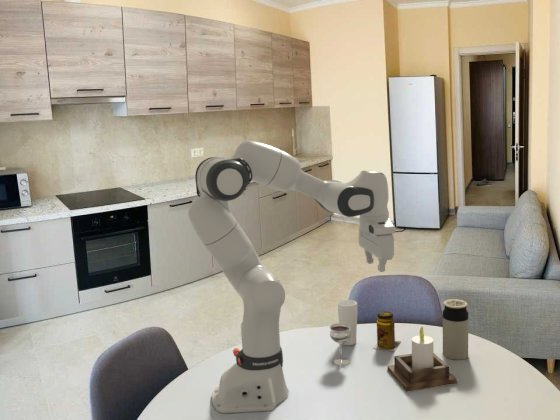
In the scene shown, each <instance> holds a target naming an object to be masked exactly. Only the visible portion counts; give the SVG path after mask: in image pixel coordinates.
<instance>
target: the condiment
mask: <svg viewBox="0 0 560 420" xmlns="http://www.w3.org/2000/svg"><path fill="white" fill-rule="evenodd" d="M395 332H396V330H395V321H394V314H393V313H392V312H391V311H384V310H383V311H380V312H378V313H377V320H376V339H377V343H376V344H375V346H374V347H373V349H375V350H381V351H388V352H389V351H391V352H395V351H396V350H397V348H398V346H399V345H400V343H401V341H400V340H396V337H395V336H396V334H395Z"/></svg>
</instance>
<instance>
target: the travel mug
mask: <svg viewBox="0 0 560 420" xmlns="http://www.w3.org/2000/svg"><path fill="white" fill-rule="evenodd" d="M443 307H444V309H443V310H442V355H443V356H444V357H446V358H447V359H450V360H456V361H457V360H458V361H459V360H460V361H461V360H463V359H464V360H465V359H466V358H467V357H469V312H468V310H467V307H468V303H467V302H466V300H463V299H455V298H452V299H446V300H444V301H443Z"/></svg>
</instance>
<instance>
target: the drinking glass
mask: <svg viewBox="0 0 560 420" xmlns="http://www.w3.org/2000/svg"><path fill="white" fill-rule="evenodd" d="M337 316H338V323H342V324H347V325H349V326H350V329H349V330H350V332H351V335H350V338H349V339H348V340H347V341H346V342H344V343H343V344H342V345H344V346H353V345H355V344H357V330H358V329H357V327H358V302H357V301H356V300H353V299H342V300H340V301H338V302H337Z"/></svg>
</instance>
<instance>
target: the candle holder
mask: <svg viewBox="0 0 560 420" xmlns="http://www.w3.org/2000/svg"><path fill="white" fill-rule="evenodd" d="M393 359H394V360H393V361H394V364H390V365H389V364H388V365H386V366H387V371H388V372H389V373H390V374H391V376H392V377H393V378H394V379H395V380H396V381H397V383H398V385H400V386H401V387H402V389H403V390H404V391H405V392H414V391H421V390H427V389H431V388H437V387H438V388H439V387H443V386H450V385H455V384H458V378H457V377H456V376H455V375H453V373H451V371H450V365H448V364H447V363H446V362H444V360H442V359H441V358H440V357H439V356H438V355H437V354H436V353H435V352H433V367H431V368H424V369H418V370H412V353H406V354H401V355H395V356H394V357H393Z"/></svg>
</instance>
